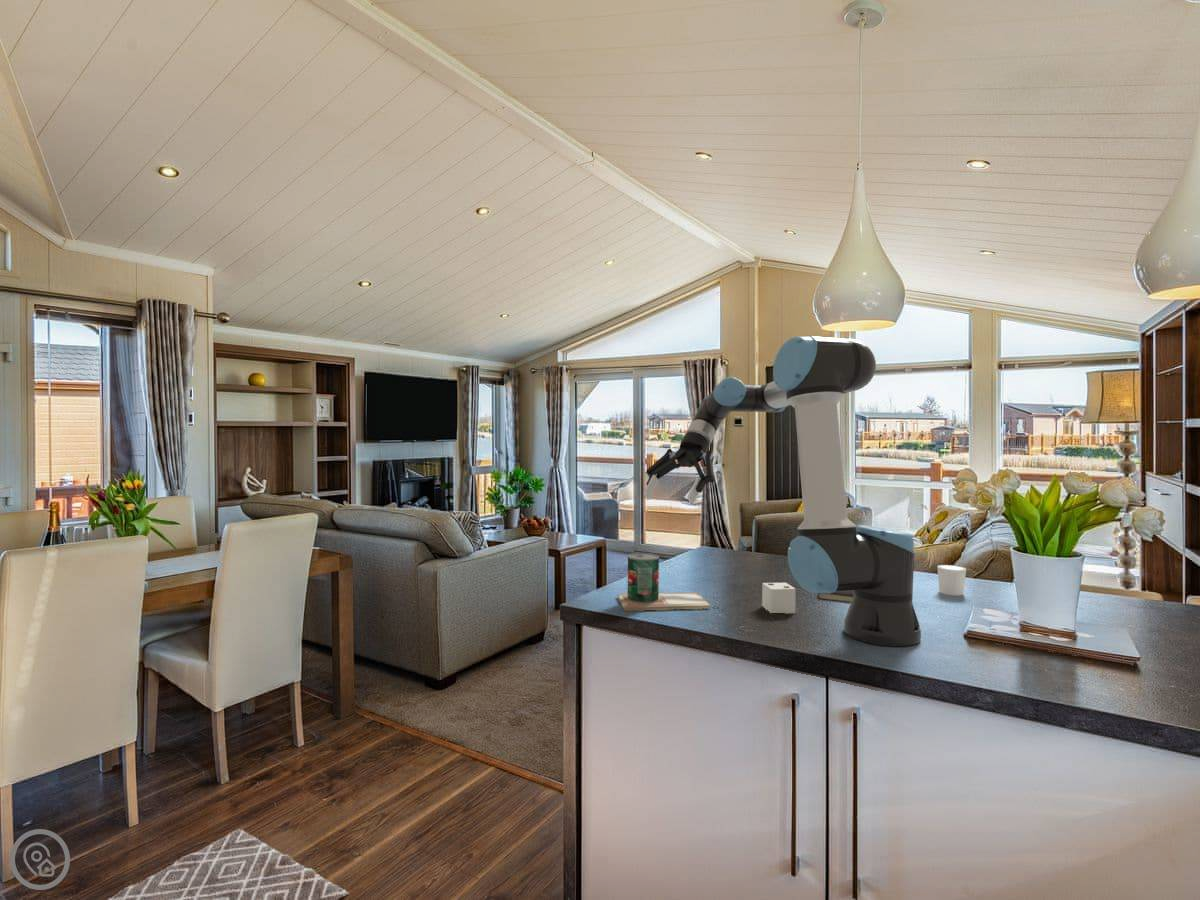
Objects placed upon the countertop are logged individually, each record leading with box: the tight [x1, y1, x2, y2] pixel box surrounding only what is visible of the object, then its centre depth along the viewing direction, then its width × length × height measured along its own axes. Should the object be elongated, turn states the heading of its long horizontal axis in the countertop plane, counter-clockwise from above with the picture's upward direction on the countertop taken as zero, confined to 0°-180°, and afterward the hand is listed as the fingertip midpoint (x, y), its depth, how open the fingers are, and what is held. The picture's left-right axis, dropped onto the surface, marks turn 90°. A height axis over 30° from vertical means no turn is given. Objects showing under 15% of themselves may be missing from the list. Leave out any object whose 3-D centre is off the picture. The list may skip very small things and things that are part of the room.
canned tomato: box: [627, 552, 660, 604], centre depth 160 cm, size 8×8×11 cm
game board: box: [617, 591, 711, 612], centre depth 161 cm, size 12×21×1 cm, turn 96°
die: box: [761, 582, 797, 614], centre depth 156 cm, size 6×6×6 cm
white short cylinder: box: [937, 564, 967, 597], centre depth 173 cm, size 7×7×7 cm
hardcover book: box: [817, 590, 854, 603], centre depth 174 cm, size 16×23×2 cm
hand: (667, 498), depth 168 cm, fingers open, 13 cm apart
